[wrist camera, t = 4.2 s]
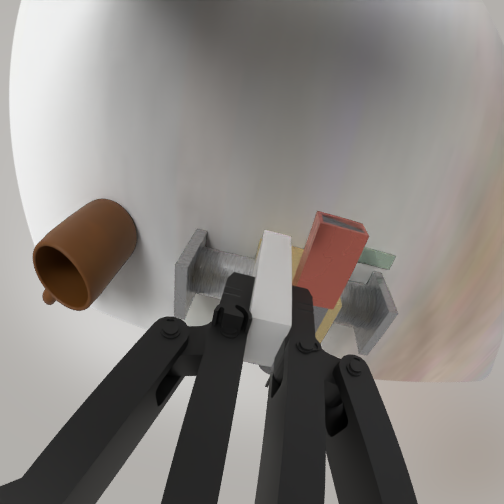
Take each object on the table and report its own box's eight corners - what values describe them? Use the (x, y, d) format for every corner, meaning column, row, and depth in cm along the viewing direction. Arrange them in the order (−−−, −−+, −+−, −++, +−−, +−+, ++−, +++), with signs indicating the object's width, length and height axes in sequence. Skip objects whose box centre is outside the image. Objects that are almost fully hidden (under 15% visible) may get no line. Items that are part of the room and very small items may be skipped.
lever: (307, 207, 14) (310, 220, 12) (370, 225, 14) (378, 239, 12) (256, 355, 20) (253, 372, 19) (299, 363, 20) (299, 379, 19)
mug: (101, 282, 31) (64, 332, 23) (63, 240, 28) (18, 283, 21) (152, 235, 26) (106, 294, 18) (105, 181, 24) (43, 223, 16)
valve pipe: (199, 206, 24) (162, 259, 17) (395, 255, 24) (426, 317, 17) (192, 281, 29) (164, 341, 22) (360, 317, 29) (373, 380, 22)
